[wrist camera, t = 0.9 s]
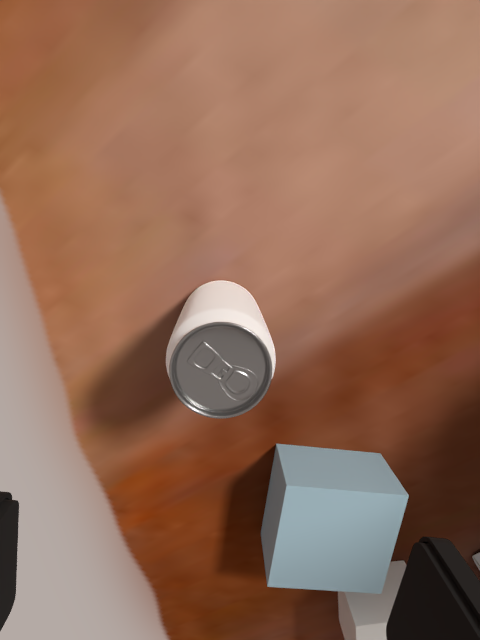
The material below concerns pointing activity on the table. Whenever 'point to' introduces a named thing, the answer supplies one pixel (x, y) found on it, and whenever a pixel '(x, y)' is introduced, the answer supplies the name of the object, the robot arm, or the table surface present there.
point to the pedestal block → (330, 519)
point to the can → (220, 352)
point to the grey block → (370, 608)
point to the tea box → (477, 559)
